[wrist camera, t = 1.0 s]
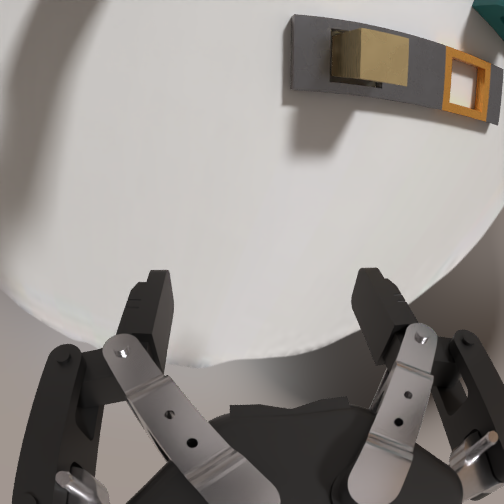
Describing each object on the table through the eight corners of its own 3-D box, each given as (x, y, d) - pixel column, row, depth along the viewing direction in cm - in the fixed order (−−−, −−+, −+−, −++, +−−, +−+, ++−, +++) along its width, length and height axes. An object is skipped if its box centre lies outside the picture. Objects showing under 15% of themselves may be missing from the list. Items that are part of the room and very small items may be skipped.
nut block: (332, 36, 26) (361, 27, 19) (371, 42, 26) (409, 38, 19) (331, 76, 28) (359, 78, 22) (370, 81, 29) (406, 86, 22)
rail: (291, 17, 25) (294, 14, 23) (495, 67, 26) (503, 69, 25) (290, 89, 29) (293, 89, 28) (490, 122, 30) (498, 125, 29)
